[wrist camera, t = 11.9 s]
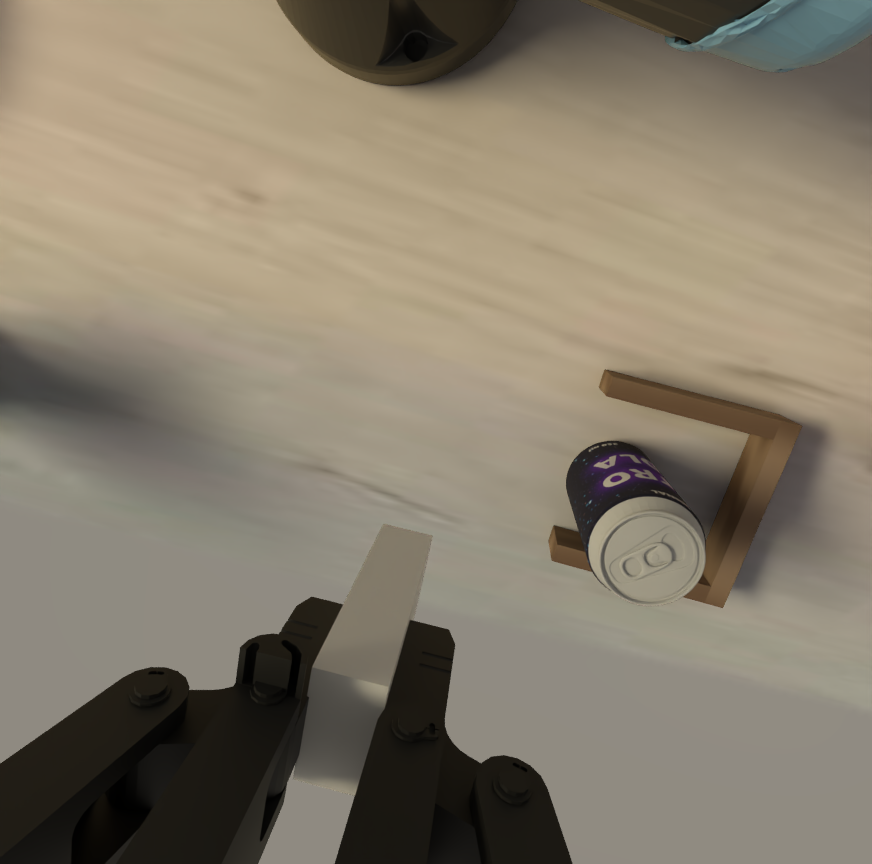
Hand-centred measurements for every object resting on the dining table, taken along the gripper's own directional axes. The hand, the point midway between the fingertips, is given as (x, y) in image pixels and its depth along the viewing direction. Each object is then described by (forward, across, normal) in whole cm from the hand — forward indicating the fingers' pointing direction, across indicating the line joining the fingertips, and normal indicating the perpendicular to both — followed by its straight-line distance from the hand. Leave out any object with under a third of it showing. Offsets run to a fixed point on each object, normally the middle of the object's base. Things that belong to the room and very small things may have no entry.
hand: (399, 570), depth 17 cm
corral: (+22, +13, -2) cm, 26 cm away
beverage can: (+23, +11, -2) cm, 25 cm away
